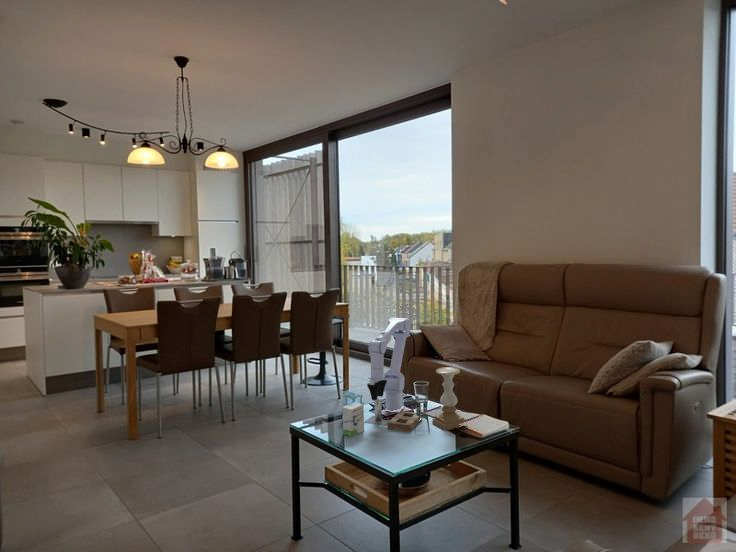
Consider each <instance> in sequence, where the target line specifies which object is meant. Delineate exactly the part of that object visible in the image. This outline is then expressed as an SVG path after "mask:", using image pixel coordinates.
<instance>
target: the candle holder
mask: <svg viewBox="0 0 736 552" xmlns="http://www.w3.org/2000/svg"><path fill="white" fill-rule="evenodd" d="M460 372H461V370H460V369H459V368H458V367H452V366H446V367H445V366H444V367H439V368H436V370H435V373H437V374H438V375H441V376H442V378H443V382H442V384H441V385H442V387H443V390H444V392H443V393H442V395H441V397H440V400H439V401H440V404H441V405H442V407H441V411H442V413H440V414H438V415H437V414H436V415H435V416H434V418H432V424H433V425H435V426H436V427H438V428H440V429H442V430H444V431H452V430H455V429H454V428H455V427H456V426H457V425H458V424H460V423H463V422H467V421H466V420H465V417H463V416H461V415H460V414H458V413H457V407H456V405H457V403H458V397H457V396H456V395H455V394H456V393H454V391H453V389H454V386H455V383H454V382H453V378H454V377H455V375H458V374H460Z"/></svg>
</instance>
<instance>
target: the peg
mask: <svg viewBox="0 0 736 552" xmlns="http://www.w3.org/2000/svg"><path fill="white" fill-rule="evenodd" d="M373 401H374V416H375V421H382V417H383V410H382V399H378V398H377V400H373Z"/></svg>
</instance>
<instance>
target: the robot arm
mask: <svg viewBox="0 0 736 552" xmlns="http://www.w3.org/2000/svg"><path fill="white" fill-rule="evenodd" d="M411 327H412V324H411V320H410V318H408V317H406V318H403V317H390V318H389V319H388V322H387V326H386V327H385V330H383V331H381V332H380V333H379V334H378V335H377V337H376V338H375V339H374V340H373V339H372V340H371V341H369V343H368V347H367V349H368V353H369V357H370V376H368V378H367V379H369V383H367V384H366V385H367V388H368V390H369V393H370V394H369V395H370V397H371V400H372V401H374V400H377V399H378V398H379V397H383V396H384V393H385V409H387V410H397V409H400V408H401V407H402V406H405V405H404V392H403V391H404V389H405V376H404V374H403V373H402V372H401V367H402V362H403V357H404V351H405V346H406V341H407V338H408V337H410V333H411ZM392 337H394V338H395V341H394V346H393V351H392V355H391V360H390V366H389V370H387V371H386V372H385V371H384V370H385V369H384V368H385V366H384V365H385V362H384V358H385V357H384V356H385V353H386V350H387V348H388V347H387V346H388V344H389V343H390V342H391V339H392ZM384 372H385V373H384Z"/></svg>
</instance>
